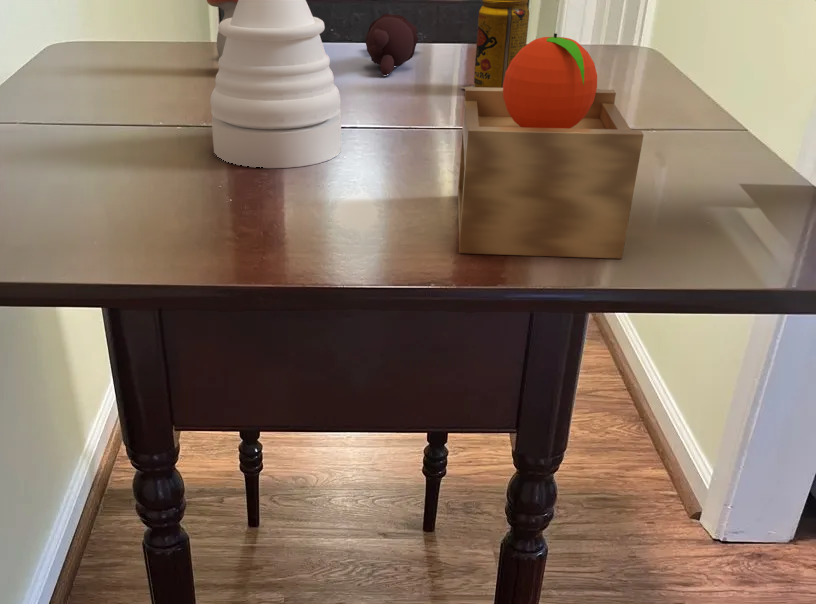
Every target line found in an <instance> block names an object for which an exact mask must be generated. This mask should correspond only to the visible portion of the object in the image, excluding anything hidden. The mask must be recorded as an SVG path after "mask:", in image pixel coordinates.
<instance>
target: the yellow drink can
mask: <svg viewBox="0 0 816 604" xmlns="http://www.w3.org/2000/svg"><path fill="white" fill-rule="evenodd" d="M481 1H482V6H481V7H480V9H479V10H478V18H477V34H476V50H475V63H474V76H473V77H474V79H473V84H474V85H470V86H463V87H462V86H459V88H460V89H463V90H465V87H486V88H503V82H504V77H505V73H506V70H507V68H508V66H509V64H510V62H511V60H512V59H513V58H514V57H515V56H516V54H517V53H518V52H519V51H520V50H521V49H522V48H523V47H524V46H526V45H527V43H528V33H529V32H528V30H529V20H530V10H529V7H528V2H529V0H481Z"/></svg>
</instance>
